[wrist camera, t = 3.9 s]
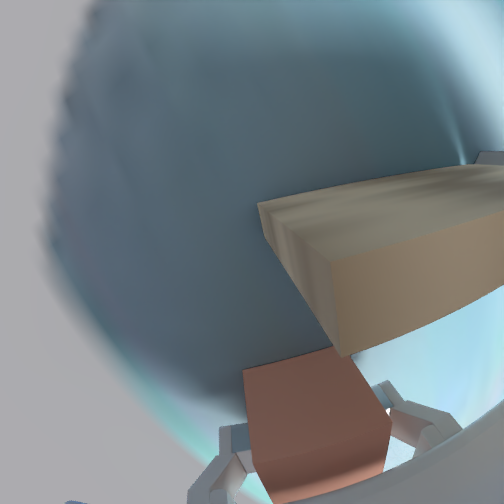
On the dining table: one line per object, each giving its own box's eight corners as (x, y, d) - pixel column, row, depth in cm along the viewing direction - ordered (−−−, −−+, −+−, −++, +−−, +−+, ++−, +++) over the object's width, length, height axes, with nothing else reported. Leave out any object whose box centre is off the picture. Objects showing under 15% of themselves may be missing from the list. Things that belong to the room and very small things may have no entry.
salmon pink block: (242, 370, 12) (252, 464, 7) (341, 343, 12) (392, 421, 7) (263, 430, 13) (277, 510, 8) (345, 407, 13) (380, 479, 8)
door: (469, 164, 10) (595, 177, 3) (473, 210, 10) (594, 245, 4) (256, 202, 10) (330, 262, 3) (270, 265, 10) (344, 411, 3)
